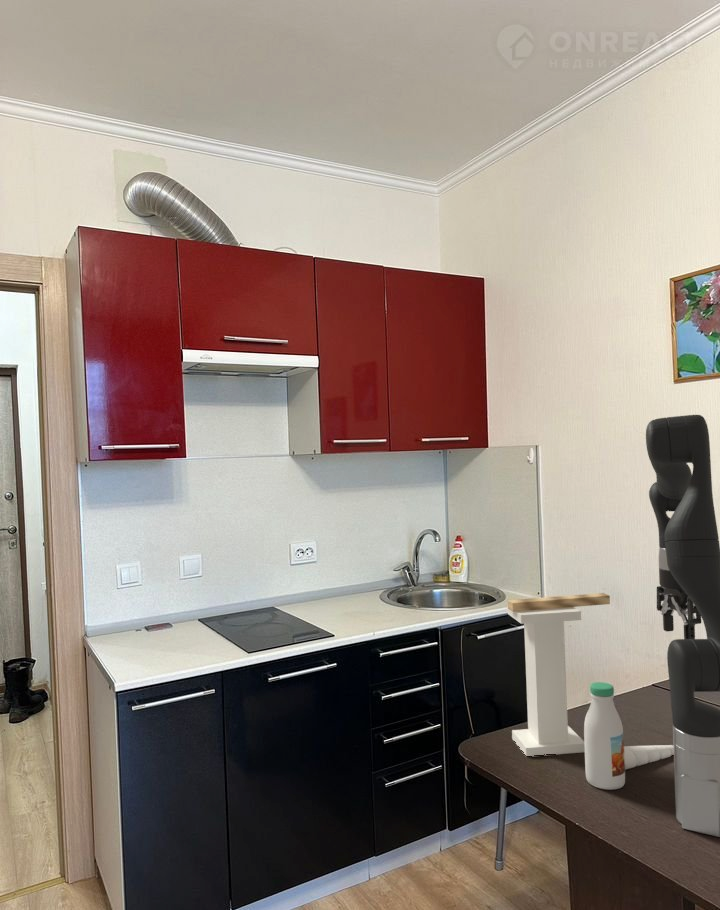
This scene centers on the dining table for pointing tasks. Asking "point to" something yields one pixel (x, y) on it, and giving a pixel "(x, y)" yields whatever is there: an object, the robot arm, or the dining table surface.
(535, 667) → the stand
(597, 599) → the slat
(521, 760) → the dining table surface
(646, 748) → the unicorn horn
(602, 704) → the milk bottle
